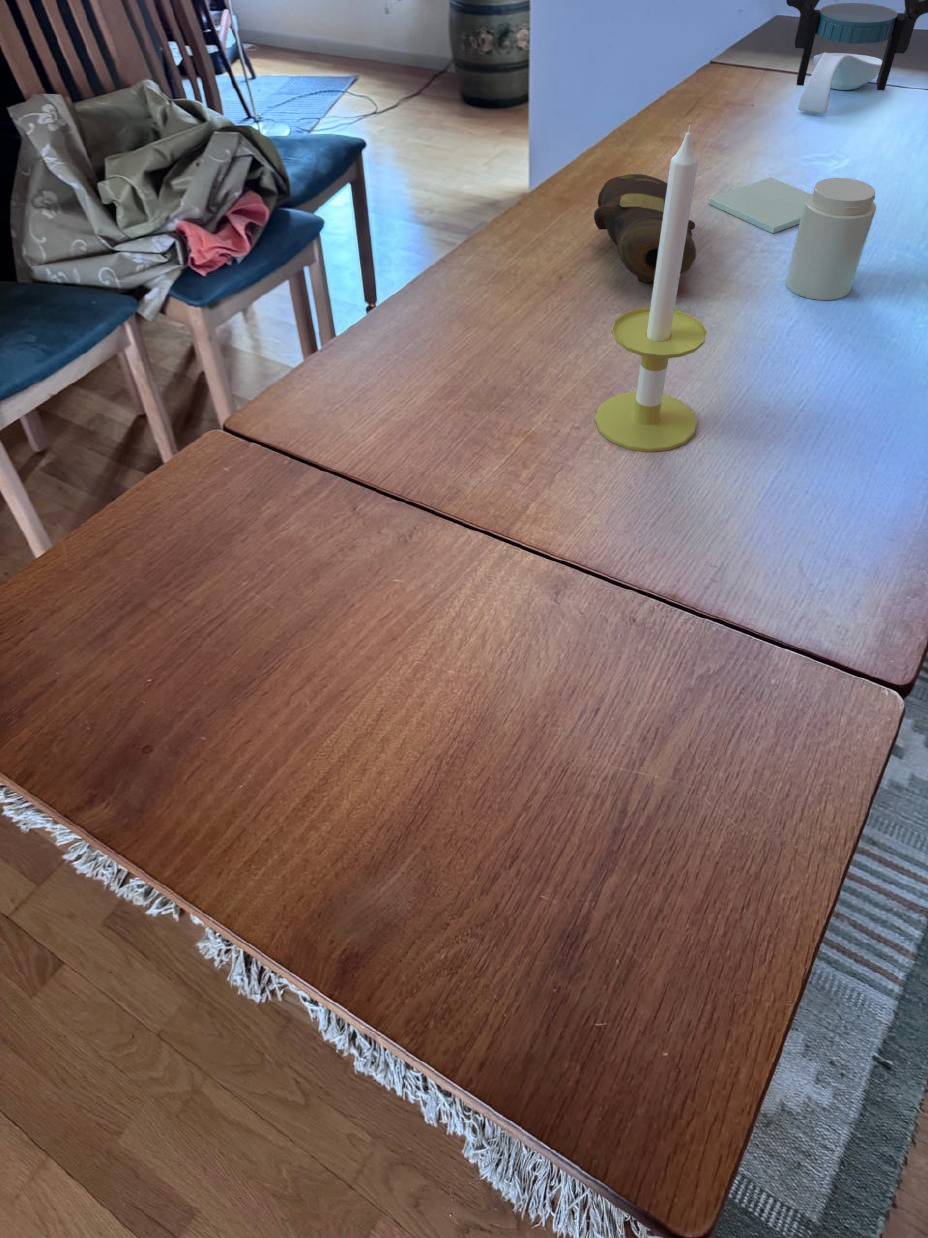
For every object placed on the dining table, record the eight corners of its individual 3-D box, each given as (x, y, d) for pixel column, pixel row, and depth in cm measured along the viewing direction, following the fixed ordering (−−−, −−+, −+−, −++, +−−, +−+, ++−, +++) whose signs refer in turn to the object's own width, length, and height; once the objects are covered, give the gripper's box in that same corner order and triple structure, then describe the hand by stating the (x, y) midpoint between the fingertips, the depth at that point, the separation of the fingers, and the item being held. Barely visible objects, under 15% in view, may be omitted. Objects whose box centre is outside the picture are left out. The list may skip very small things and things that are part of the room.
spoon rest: (819, 70, 160) (830, 24, 154) (885, 79, 155) (899, 32, 150) (777, 109, 146) (787, 60, 141) (848, 120, 142) (861, 70, 137)
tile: (835, 210, 119) (837, 204, 118) (772, 233, 115) (774, 227, 114) (769, 182, 126) (770, 176, 125) (707, 203, 122) (709, 197, 121)
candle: (573, 419, 87) (596, 124, 68) (641, 382, 92) (682, 94, 72) (649, 465, 82) (698, 159, 62) (718, 423, 86) (784, 124, 67)
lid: (800, 34, 94) (804, 13, 92) (839, 19, 97) (844, -2, 96) (868, 48, 90) (874, 26, 88) (906, 32, 93) (912, 10, 92)
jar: (863, 295, 103) (895, 197, 95) (804, 304, 102) (830, 206, 94) (830, 266, 108) (857, 171, 100) (773, 274, 107) (796, 179, 99)
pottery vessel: (597, 302, 103) (603, 238, 98) (588, 228, 117) (593, 168, 112) (704, 302, 103) (716, 237, 97) (683, 227, 117) (692, 167, 111)
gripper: (1029, -202, 81) (936, 78, 97) (796, -201, 85) (746, 68, 102) (1041, -192, 76) (942, 101, 93) (794, -192, 80) (742, 88, 97)
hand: (840, 83), depth 97 cm, fingers closed on lid, 8 cm apart
